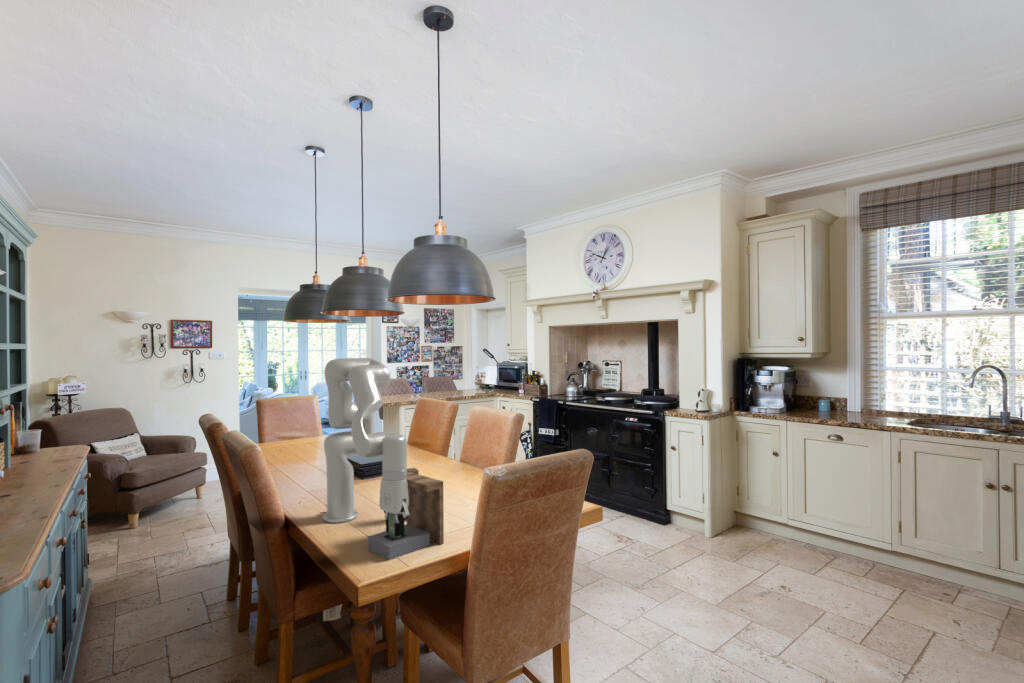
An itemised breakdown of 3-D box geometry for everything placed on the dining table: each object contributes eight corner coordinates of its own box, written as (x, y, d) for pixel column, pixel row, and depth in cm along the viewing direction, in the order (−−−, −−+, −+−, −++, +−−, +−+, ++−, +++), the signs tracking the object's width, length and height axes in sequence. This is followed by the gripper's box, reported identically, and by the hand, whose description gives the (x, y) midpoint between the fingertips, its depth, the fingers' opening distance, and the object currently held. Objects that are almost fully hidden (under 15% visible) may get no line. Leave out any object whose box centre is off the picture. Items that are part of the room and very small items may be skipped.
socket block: (367, 549, 160) (367, 536, 160) (407, 535, 170) (407, 524, 170) (389, 560, 151) (389, 546, 151) (429, 545, 162) (429, 532, 162)
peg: (386, 541, 160) (385, 509, 160) (396, 538, 163) (396, 506, 163) (393, 544, 157) (393, 512, 157) (404, 541, 160) (404, 509, 160)
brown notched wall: (394, 535, 171) (394, 475, 172) (410, 529, 176) (410, 472, 176) (427, 549, 159) (427, 485, 159) (443, 543, 164) (443, 481, 164)
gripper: (369, 472, 163) (370, 530, 163) (400, 481, 151) (400, 543, 151) (389, 468, 168) (390, 523, 168) (420, 477, 157) (421, 536, 157)
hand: (395, 532), depth 160 cm, fingers closed on peg, 4 cm apart
